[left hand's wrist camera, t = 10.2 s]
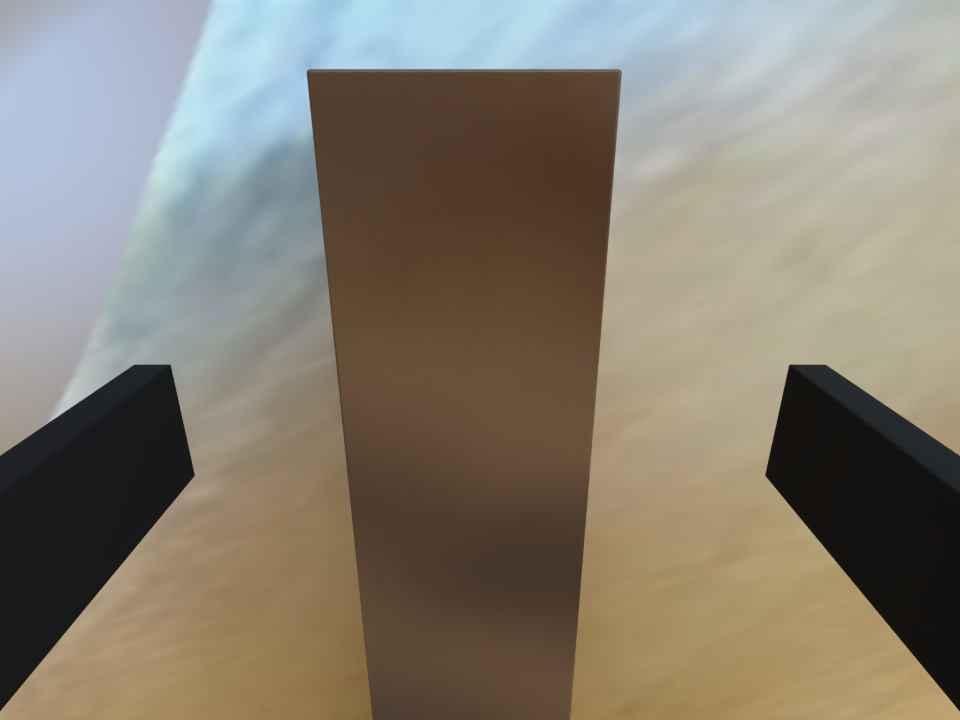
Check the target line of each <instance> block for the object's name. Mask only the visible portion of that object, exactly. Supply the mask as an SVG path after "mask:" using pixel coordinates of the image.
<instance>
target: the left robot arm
mask: <svg viewBox="0 0 960 720" xmlns="http://www.w3.org/2000/svg"><path fill="white" fill-rule="evenodd" d="M194 476H195V474H194V470H193V465H192V461H191V456H190V451H189V447H188V442H187V438H186V433H185V429H184V424H183V419H182V415H181V410H180V406H179V401H178V396H177V392H176V387H175V383H174V378H173V374H172V369H171V365H133V366H132V367H130V368H129V369H127V370H126V371H125V372H123V373H122V374H120V375H119V376H117V377H116V378H114V379H113V380H111V381H110V382H108V383H107V384H105V385H104V386H102V387H101V388H99V389H98V390H97V391H95V392H94V393H92V394H91V395H89V396H88V397H86V398H85V399H83V400H82V401H80V402H79V403H77V404H76V405H74V406H73V407H72V408H70V409H69V410H67V411H66V412H64V413H63V414H61V415H60V416H58V417H57V418H55V419H54V420H52V421H51V422H49V423H48V424H46V425H45V426H44V427H42V428H41V429H39V430H38V431H36V432H35V433H33V434H32V435H30V436H29V437H27V438H26V439H24V440H23V441H21V442H20V443H19V444H17V445H16V446H14V447H13V448H11V449H10V450H8V451H7V452H5V453H4V454H2V455H1V456H0V711H1V710H2V708H3V707H4V706H5V705H6V704H7V702H8V701H9V700H10V699H11V698H12V696H13V695H14V694H15V693H16V691H17V690H18V689H19V688H20V687H21V685H22V684H23V683H24V682H25V681H26V679H27V678H28V677H29V676H30V675H31V673H32V672H33V671H34V670H35V668H36V667H37V666H38V665H39V664H40V662H41V661H42V660H43V659H44V658H45V656H46V655H47V654H48V653H49V652H50V650H51V649H52V648H53V647H54V645H55V644H56V643H57V642H58V641H59V639H60V638H61V637H62V636H63V635H64V633H65V632H66V631H67V630H68V629H69V627H70V626H71V625H72V624H73V622H74V621H75V620H76V619H77V618H78V616H79V615H80V614H81V613H82V612H83V610H84V609H85V608H86V607H87V605H88V604H89V603H90V602H91V601H92V599H93V598H94V597H95V596H96V595H97V593H98V592H99V591H100V590H101V589H102V587H103V586H104V585H105V584H106V582H107V581H108V580H109V579H110V578H111V576H112V575H113V574H114V573H115V572H116V570H117V569H118V568H119V567H120V566H121V564H122V563H123V562H124V561H125V559H126V558H127V557H128V556H129V555H130V553H131V552H132V551H133V550H134V549H135V547H136V546H137V545H138V544H139V543H140V541H141V540H142V539H143V538H144V536H145V535H146V534H147V533H148V532H149V530H150V529H151V528H152V527H153V526H154V524H155V523H156V522H157V521H158V520H159V518H160V517H161V516H162V515H163V513H164V512H165V511H166V510H167V509H168V507H169V506H170V505H171V504H172V503H173V501H174V500H175V499H176V498H177V497H178V495H179V494H180V493H181V492H182V490H183V489H184V488H185V487H186V486H187V484H188V483H189V482H190V481H191V480H192V478H193V477H194ZM765 476H766V477H767V478H768V480H769V481H770V482H771V483H772V484H773V486H774V487H775V488H776V489H777V490H778V492H779V493H780V494H781V495H782V497H783V498H784V499H785V500H786V501H787V503H788V504H789V505H790V506H791V507H792V509H793V510H794V511H795V512H796V513H797V515H798V516H799V517H800V518H801V520H802V521H803V522H804V523H805V524H806V526H807V527H808V528H809V529H810V530H811V532H812V533H813V534H814V535H815V536H816V538H817V539H818V540H819V541H820V543H821V544H822V545H823V546H824V547H825V549H826V550H827V551H828V552H829V553H830V555H831V556H832V557H833V558H834V559H835V561H836V562H837V563H838V564H839V566H840V567H841V568H842V569H843V570H844V572H845V573H846V574H847V575H848V576H849V578H850V579H851V580H852V581H853V582H854V584H855V585H856V586H857V587H858V589H859V590H860V591H861V592H862V593H863V595H864V596H865V597H866V598H867V599H868V601H869V602H870V603H871V604H872V605H873V607H874V608H875V609H876V610H877V612H878V613H879V614H880V615H881V616H882V618H883V619H884V620H885V621H886V622H887V624H888V625H889V626H890V627H891V629H892V630H893V631H894V632H895V633H896V635H897V636H898V637H899V638H900V639H901V641H902V642H903V643H904V644H905V645H906V647H907V648H908V649H909V650H910V652H911V653H912V654H913V655H914V656H915V658H916V659H917V660H918V661H919V662H920V664H921V665H922V666H923V667H924V668H925V670H926V671H927V672H928V673H929V675H930V676H931V677H932V678H933V679H934V681H935V682H936V683H937V684H938V685H939V687H940V688H941V689H942V690H943V691H944V693H945V694H946V695H947V696H948V698H949V699H950V700H951V701H952V702H953V704H954V705H955V706H956V707H957V708H958V710H959V711H960V456H959V455H958V454H956V453H955V452H953V451H952V450H950V449H949V448H947V447H946V446H944V445H943V444H942V443H940V442H939V441H937V440H936V439H934V438H933V437H931V436H930V435H928V434H927V433H925V432H924V431H922V430H921V429H919V428H918V427H916V426H915V425H914V424H912V423H911V422H909V421H908V420H906V419H905V418H903V417H902V416H900V415H899V414H897V413H896V412H894V411H893V410H891V409H890V408H888V407H887V406H886V405H884V404H883V403H881V402H880V401H878V400H877V399H875V398H874V397H872V396H871V395H869V394H868V393H866V392H865V391H863V390H862V389H861V388H859V387H858V386H856V385H855V384H853V383H852V382H850V381H849V380H847V379H846V378H844V377H843V376H841V375H840V374H838V373H837V372H835V371H834V370H833V369H831V368H830V367H828V366H827V365H789V369H788V374H787V378H786V383H785V387H784V392H783V396H782V401H781V406H780V410H779V415H778V419H777V424H776V429H775V433H774V438H773V442H772V447H771V451H770V456H769V461H768V465H767V470H766V474H765Z"/></svg>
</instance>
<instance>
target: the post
mask: <svg viewBox="0 0 960 720" xmlns="http://www.w3.org/2000/svg"><path fill="white" fill-rule="evenodd" d="M621 76H622V72H621V70H619V69H310V70H308V71H307V80H308V90H309V100H310V109H311V119H312V129H313V139H314V149H315V158H316V168H317V178H318V188H319V198H320V207H321V217H322V227H323V237H324V247H325V256H326V266H327V276H328V286H329V296H330V305H331V315H332V325H333V335H334V345H335V354H336V364H337V374H338V384H339V394H340V403H341V413H342V423H343V433H344V443H345V453H346V462H347V472H348V482H349V492H350V502H351V511H352V521H353V531H354V541H355V551H356V560H357V570H358V580H359V590H360V600H361V609H362V619H363V629H364V639H365V649H366V658H367V668H368V678H369V688H370V698H371V707H372V717H373V720H570V711H571V699H572V686H573V674H574V661H575V649H576V637H577V624H578V612H579V599H580V587H581V574H582V562H583V549H584V537H585V524H586V512H587V499H588V487H589V474H590V462H591V450H592V437H593V425H594V412H595V400H596V387H597V375H598V362H599V350H600V337H601V325H602V312H603V300H604V288H605V275H606V263H607V250H608V238H609V225H610V213H611V200H612V188H613V175H614V163H615V150H616V138H617V125H618V113H619V101H620V88H621Z"/></svg>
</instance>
